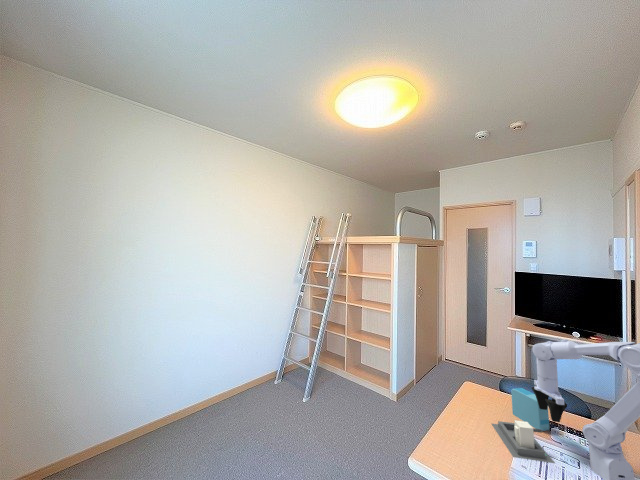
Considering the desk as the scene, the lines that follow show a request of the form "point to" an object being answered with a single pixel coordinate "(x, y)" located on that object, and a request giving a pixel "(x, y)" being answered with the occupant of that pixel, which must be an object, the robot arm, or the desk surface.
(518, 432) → the plug
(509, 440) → the jack panel
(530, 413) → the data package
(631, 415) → the robot arm
